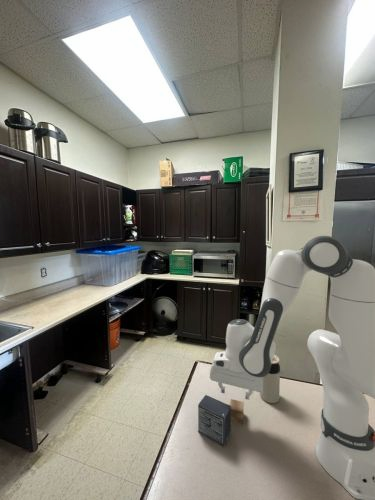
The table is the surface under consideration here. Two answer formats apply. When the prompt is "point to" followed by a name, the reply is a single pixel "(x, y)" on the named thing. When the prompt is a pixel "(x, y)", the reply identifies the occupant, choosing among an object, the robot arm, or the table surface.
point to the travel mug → (272, 383)
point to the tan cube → (236, 411)
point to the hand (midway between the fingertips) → (234, 395)
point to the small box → (214, 420)
